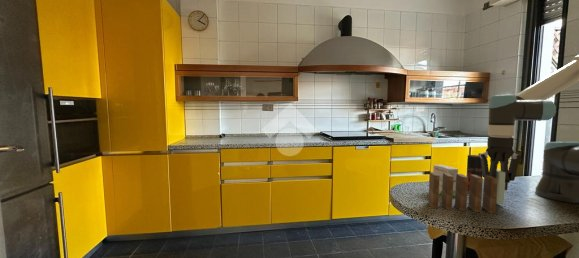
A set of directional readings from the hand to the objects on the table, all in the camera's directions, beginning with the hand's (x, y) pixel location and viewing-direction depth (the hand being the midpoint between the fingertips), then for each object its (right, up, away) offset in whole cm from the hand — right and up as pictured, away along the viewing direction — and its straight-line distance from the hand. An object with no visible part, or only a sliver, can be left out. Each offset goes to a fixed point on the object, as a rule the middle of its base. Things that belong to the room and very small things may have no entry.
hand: (497, 198), depth 97 cm
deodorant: (+5, -1, +19) cm, 20 cm away
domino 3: (-12, -3, -5) cm, 14 cm away
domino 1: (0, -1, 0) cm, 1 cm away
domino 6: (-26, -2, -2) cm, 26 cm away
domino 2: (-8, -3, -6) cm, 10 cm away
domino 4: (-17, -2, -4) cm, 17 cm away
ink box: (-13, -2, +11) cm, 18 cm away
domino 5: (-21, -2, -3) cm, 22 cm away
